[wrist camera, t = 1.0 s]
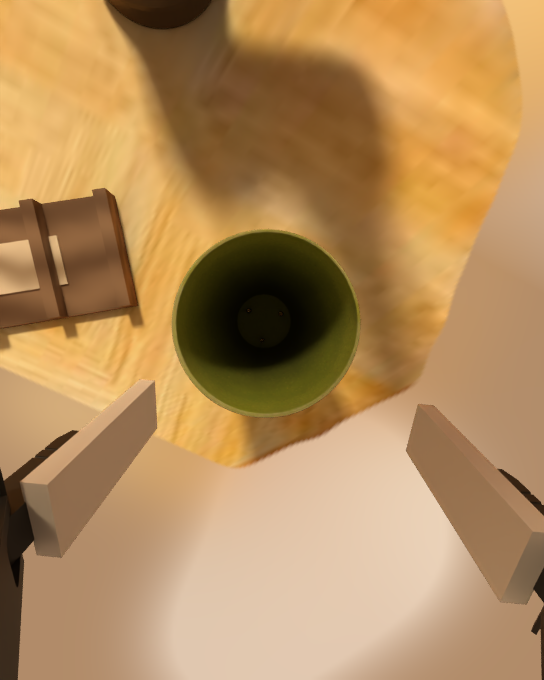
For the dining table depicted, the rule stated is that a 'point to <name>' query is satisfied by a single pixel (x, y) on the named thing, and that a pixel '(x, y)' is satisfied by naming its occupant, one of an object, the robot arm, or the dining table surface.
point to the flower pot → (266, 323)
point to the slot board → (62, 260)
